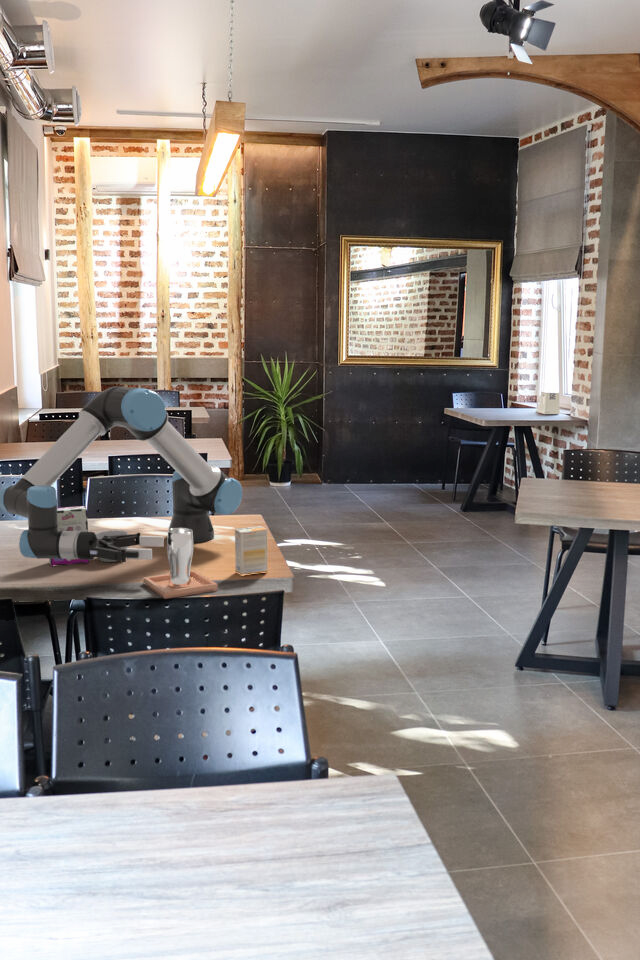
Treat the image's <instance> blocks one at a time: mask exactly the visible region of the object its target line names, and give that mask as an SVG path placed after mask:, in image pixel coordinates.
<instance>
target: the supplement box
mask: <svg viewBox="0 0 640 960" xmlns="http://www.w3.org/2000/svg"><path fill="white" fill-rule="evenodd" d="M234 550H235V551H234V552H235V553H234V556H235V557H234V558H235V560H234V561H235V563H234V564H235V573H236V572H238V573H240V574H241V575H242V574H251V573H261V572H267V573H268V528H265V527H263V526H261V525H259V526H249V527H241V528H235V529H234Z"/></svg>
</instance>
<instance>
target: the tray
mask: <svg viewBox="0 0 640 960" xmlns="http://www.w3.org/2000/svg"><path fill="white" fill-rule="evenodd" d="M190 577H191V578H192V577H193V579H191V586H189V587H185V588H174V587H170V586H169V579H170V573H166V574H159V575H152V576H146V577H143V584H144V583H145V586H146V587H148V588H149V589H150V590H151V591H153V592H154V593H156V594H157V595H159V596H160V597H162V598H163V599H164V600H165V599H166V600H167V599H172V598H177V597H179V598H180V597H184V596H191V595H196V594H203V593H210V592H217V591H218V583H216V582H215V581H213V580H211V579H209V578H208V577H206V576H205V575H203V574H201V573H199V571H196V570H194V569H193V570H190ZM194 578H195V579H194Z"/></svg>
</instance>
